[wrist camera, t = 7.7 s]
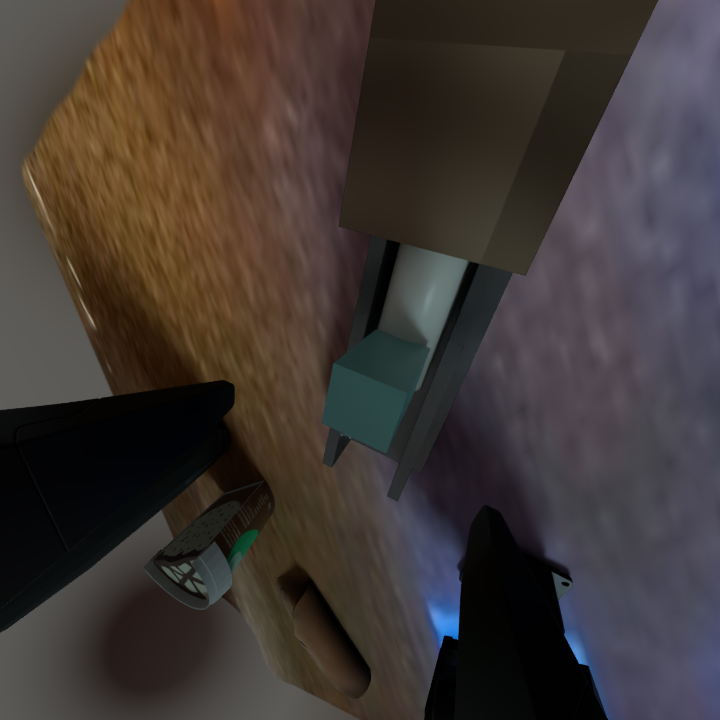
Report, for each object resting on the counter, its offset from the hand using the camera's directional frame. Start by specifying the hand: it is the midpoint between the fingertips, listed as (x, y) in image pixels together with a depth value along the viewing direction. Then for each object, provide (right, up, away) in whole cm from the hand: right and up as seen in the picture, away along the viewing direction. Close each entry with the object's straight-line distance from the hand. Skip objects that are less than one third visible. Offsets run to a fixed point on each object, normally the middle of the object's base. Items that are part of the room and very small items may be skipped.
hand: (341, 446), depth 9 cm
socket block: (+6, +13, +6) cm, 15 cm away
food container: (-12, -16, +26) cm, 33 cm away
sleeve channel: (+4, +3, +11) cm, 12 cm away
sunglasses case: (-5, -35, +31) cm, 47 cm away
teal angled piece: (+5, +8, +7) cm, 12 cm away
